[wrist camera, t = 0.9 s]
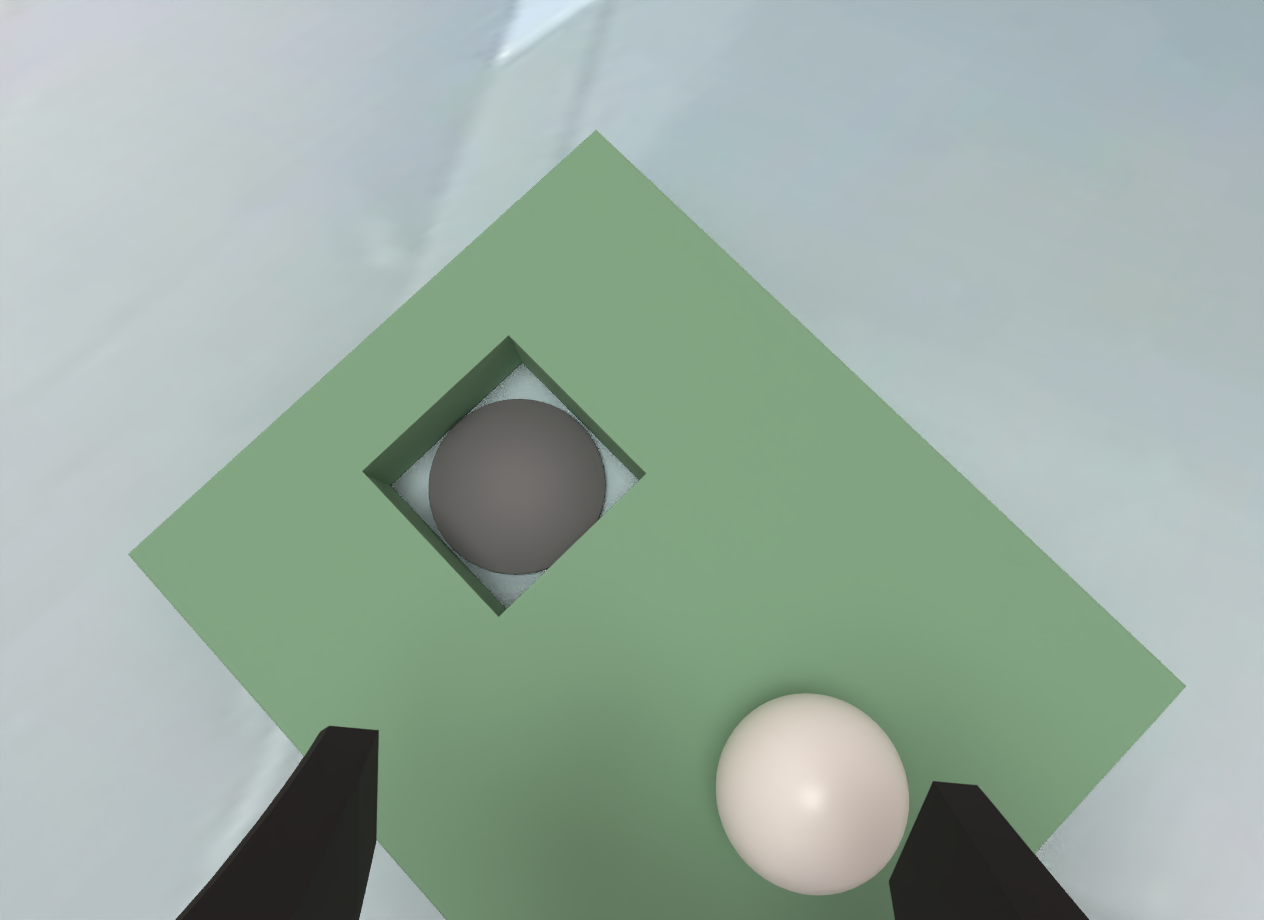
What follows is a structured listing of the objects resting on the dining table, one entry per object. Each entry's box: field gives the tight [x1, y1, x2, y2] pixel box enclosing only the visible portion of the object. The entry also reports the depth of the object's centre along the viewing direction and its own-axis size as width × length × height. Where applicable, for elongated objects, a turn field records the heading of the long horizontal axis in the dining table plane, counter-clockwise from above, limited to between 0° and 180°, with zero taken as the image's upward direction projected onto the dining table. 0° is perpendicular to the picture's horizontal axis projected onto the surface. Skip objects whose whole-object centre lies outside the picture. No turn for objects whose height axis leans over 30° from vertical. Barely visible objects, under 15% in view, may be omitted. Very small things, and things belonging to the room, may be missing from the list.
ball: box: [716, 693, 909, 896], centre depth 19 cm, size 4×4×4 cm
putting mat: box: [128, 130, 1186, 920], centre depth 23 cm, size 20×16×2 cm
